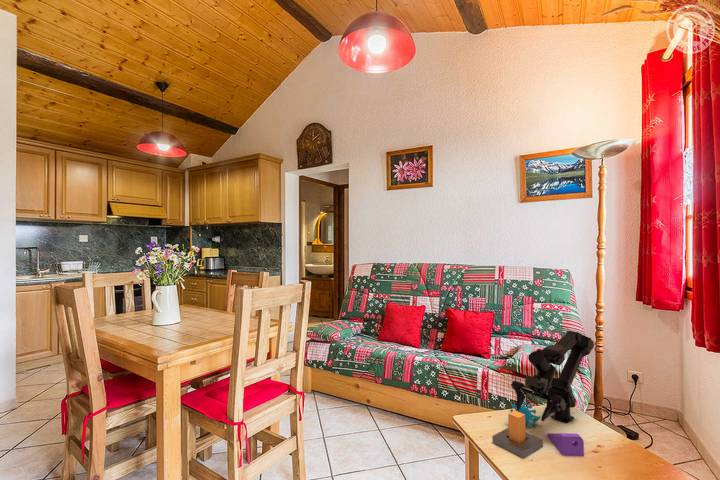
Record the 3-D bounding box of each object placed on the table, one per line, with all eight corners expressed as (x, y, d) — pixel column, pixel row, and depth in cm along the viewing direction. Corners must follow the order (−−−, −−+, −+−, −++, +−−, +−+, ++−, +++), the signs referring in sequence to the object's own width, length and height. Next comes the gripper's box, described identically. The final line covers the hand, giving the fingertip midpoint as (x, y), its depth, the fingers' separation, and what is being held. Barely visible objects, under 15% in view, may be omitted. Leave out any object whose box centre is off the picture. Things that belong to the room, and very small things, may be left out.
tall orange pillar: (515, 440, 134) (514, 410, 134) (525, 445, 130) (525, 414, 130) (508, 444, 131) (508, 413, 131) (519, 449, 128) (518, 417, 128)
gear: (509, 422, 144) (511, 397, 150) (508, 427, 148) (510, 403, 154) (540, 431, 139) (541, 405, 145) (538, 436, 143) (539, 411, 150)
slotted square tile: (511, 432, 139) (511, 425, 139) (542, 446, 129) (542, 439, 129) (492, 442, 132) (492, 436, 132) (523, 458, 123) (523, 451, 123)
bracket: (583, 457, 123) (583, 436, 123) (562, 456, 124) (562, 436, 124) (566, 437, 135) (566, 419, 135) (547, 437, 136) (547, 419, 136)
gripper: (513, 360, 145) (497, 395, 139) (562, 375, 130) (547, 416, 124) (523, 374, 150) (508, 409, 144) (572, 390, 135) (558, 430, 129)
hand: (529, 415), depth 135 cm, fingers open, 9 cm apart
